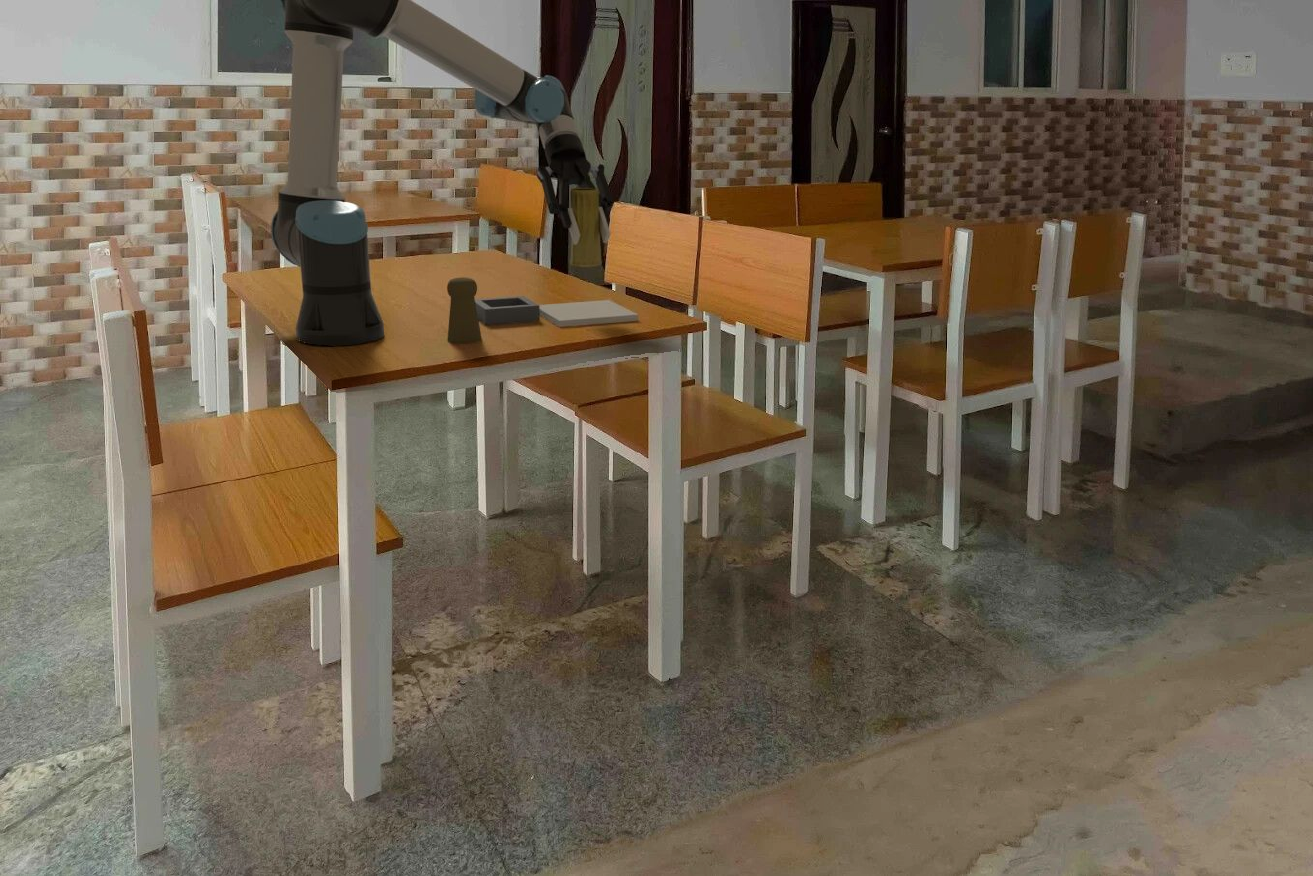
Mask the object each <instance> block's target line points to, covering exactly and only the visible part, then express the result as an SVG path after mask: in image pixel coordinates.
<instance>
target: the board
mask: <svg viewBox="0 0 1313 876" xmlns="http://www.w3.org/2000/svg"><path fill="white" fill-rule="evenodd" d="M538 305H539V309H540V317H543V318H544V319H546V320H547V321H549V322H550V323H552V324H554V325H555V326H556V327H558V328H563V327H565V328H566V327H577V326H579V327H580V326H588V325H591V326H592V325H600V324H613V323H614V324H615V323H626V322H627V323H628V322H638V321H639V313H637V312H634V311H632V310H630V309H628V308H626V307H624V306H622V305H620V304H618V303H616V302H614V301H612V300H610V299H607V300H606V299H604V300H591V301H578V302H577V301H576V302H564V303H563V302H562V303H561V302H560V303H548V304H538Z"/></svg>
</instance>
